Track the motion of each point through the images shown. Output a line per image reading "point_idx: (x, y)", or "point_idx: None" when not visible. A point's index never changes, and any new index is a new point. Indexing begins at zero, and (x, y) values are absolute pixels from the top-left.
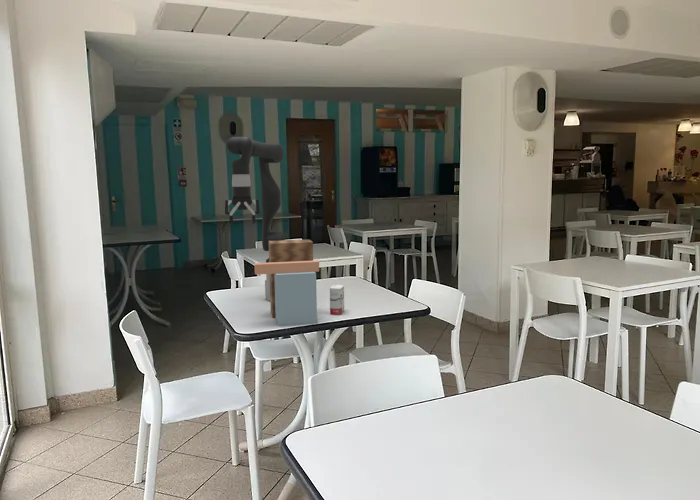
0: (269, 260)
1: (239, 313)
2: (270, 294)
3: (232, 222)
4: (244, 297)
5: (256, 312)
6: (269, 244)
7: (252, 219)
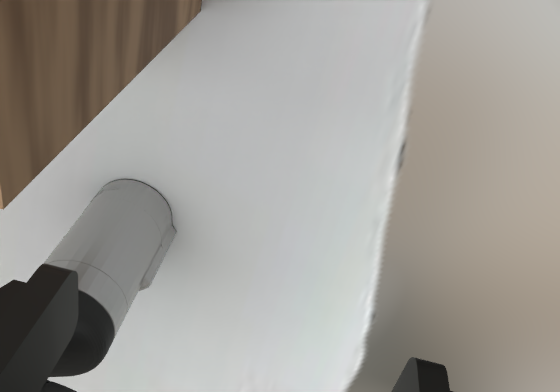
0: (88, 83)
1: (337, 67)
2: (174, 11)
3: (430, 388)
4: (245, 296)
5: (261, 46)
6: (5, 88)
7: (24, 327)
